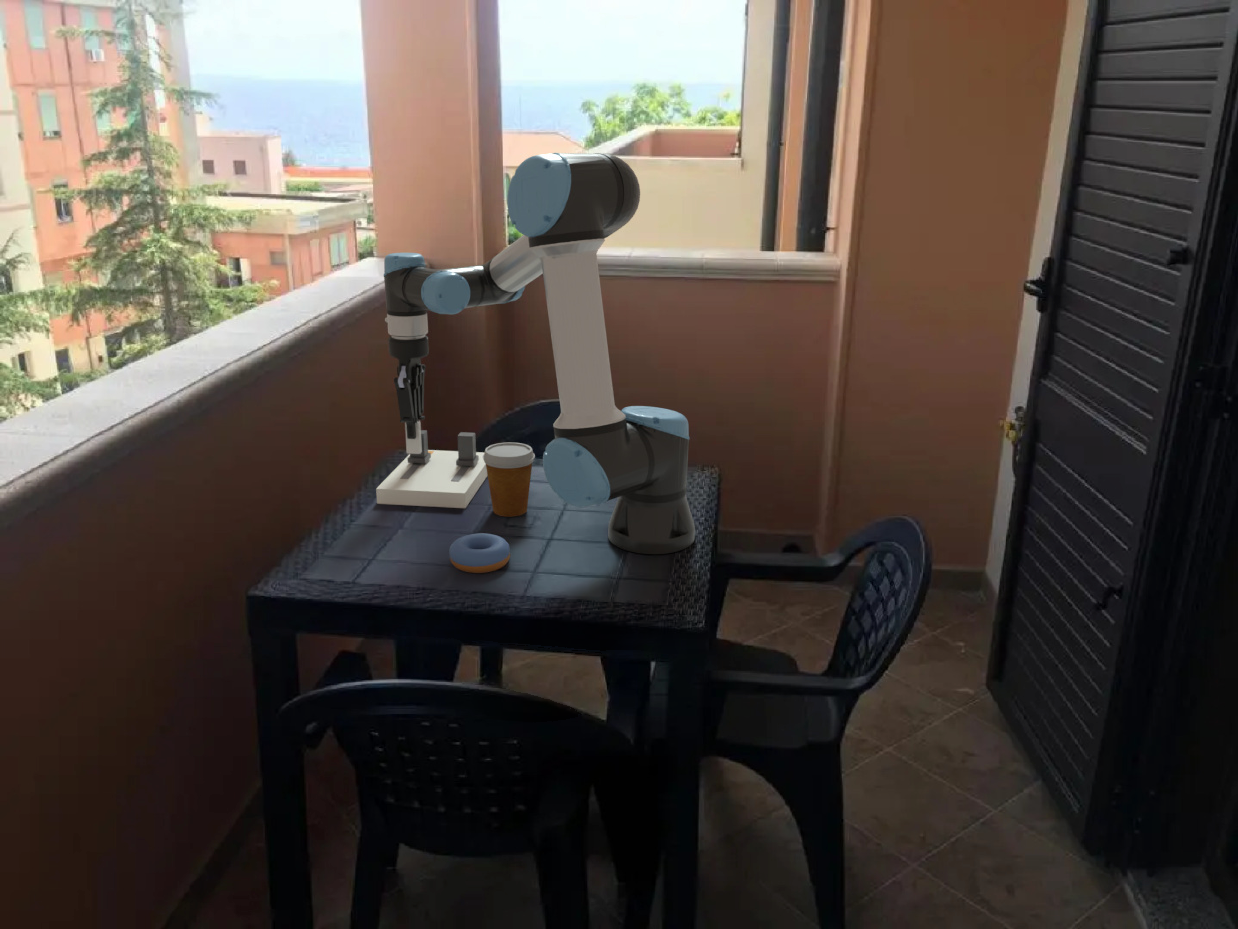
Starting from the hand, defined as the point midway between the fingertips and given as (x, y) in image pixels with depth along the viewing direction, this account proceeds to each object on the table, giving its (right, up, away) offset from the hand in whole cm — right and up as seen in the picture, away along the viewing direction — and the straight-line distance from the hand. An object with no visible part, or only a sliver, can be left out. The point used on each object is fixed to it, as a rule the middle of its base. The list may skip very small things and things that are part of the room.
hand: (414, 452), depth 195 cm
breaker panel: (+5, -6, 0) cm, 8 cm away
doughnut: (+18, -19, -34) cm, 43 cm away
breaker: (+10, -2, +2) cm, 11 cm away
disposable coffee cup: (+20, -11, -12) cm, 26 cm away
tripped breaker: (0, -1, +3) cm, 4 cm away
